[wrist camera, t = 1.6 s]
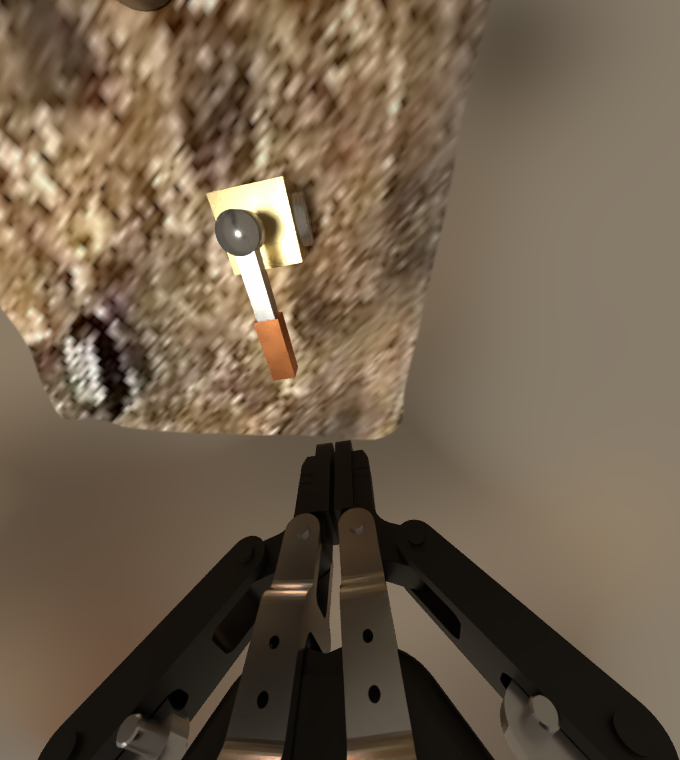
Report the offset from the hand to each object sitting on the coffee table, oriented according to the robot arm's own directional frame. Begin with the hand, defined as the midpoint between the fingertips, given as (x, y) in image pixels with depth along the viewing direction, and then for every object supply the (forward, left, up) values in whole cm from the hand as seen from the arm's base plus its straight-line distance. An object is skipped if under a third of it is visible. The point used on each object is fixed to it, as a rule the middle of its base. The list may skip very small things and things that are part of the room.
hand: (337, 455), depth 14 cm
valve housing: (-10, -6, -27) cm, 29 cm away
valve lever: (-4, -6, -16) cm, 18 cm away
